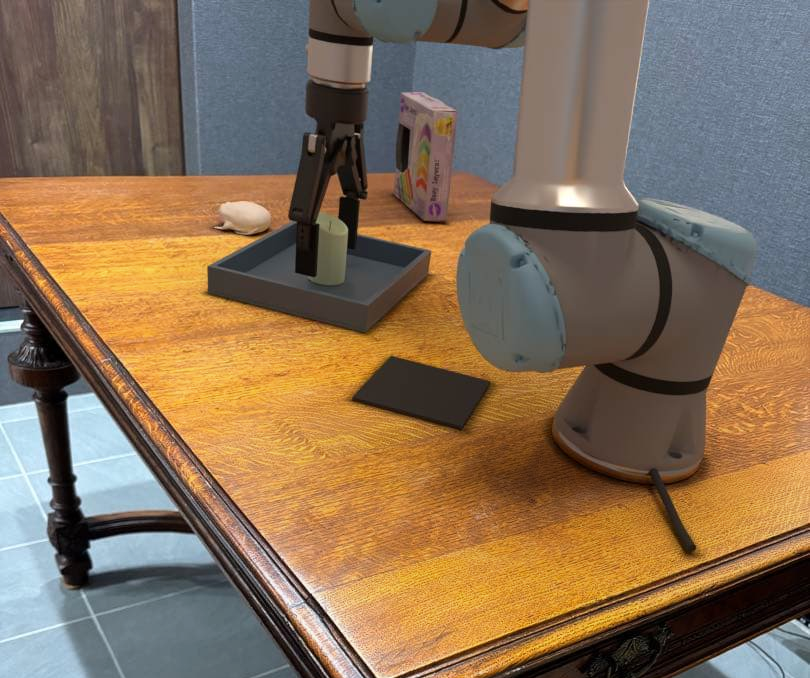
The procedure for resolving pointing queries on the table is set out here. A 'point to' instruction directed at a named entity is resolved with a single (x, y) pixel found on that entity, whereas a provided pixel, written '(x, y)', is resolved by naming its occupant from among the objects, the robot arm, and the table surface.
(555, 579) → the table surface
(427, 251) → the bin
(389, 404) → the mat
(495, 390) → the table surface
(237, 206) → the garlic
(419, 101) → the cake pan box
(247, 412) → the table surface
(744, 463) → the table surface
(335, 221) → the candle
